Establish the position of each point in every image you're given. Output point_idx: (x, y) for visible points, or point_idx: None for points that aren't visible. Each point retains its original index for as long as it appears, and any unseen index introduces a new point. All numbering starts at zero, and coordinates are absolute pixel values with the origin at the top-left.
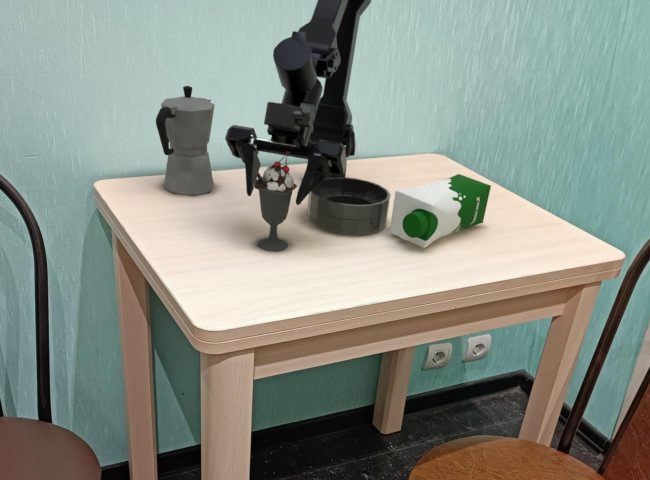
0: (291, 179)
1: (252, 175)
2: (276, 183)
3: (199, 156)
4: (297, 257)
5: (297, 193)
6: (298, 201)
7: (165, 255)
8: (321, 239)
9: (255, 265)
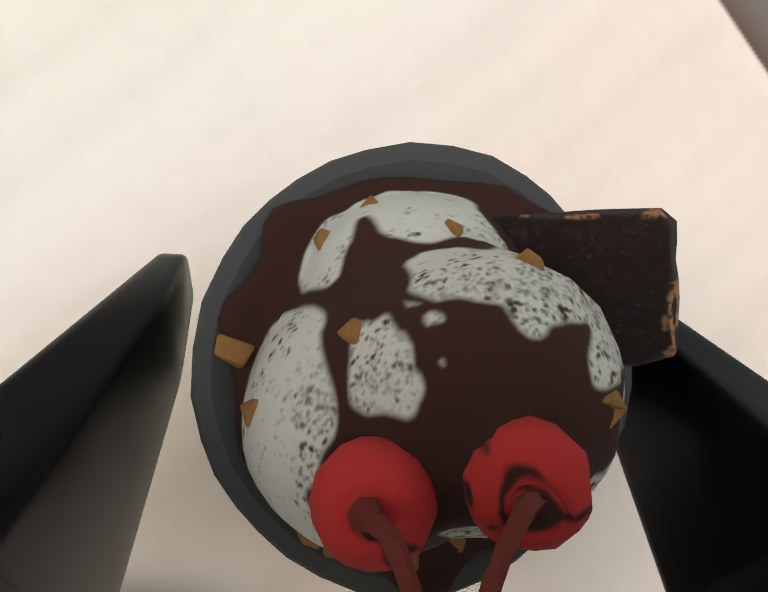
0: (259, 415)
1: (697, 394)
2: (401, 229)
3: None
4: (207, 244)
5: (165, 296)
6: (157, 259)
7: (696, 66)
8: (145, 505)
9: (361, 93)
